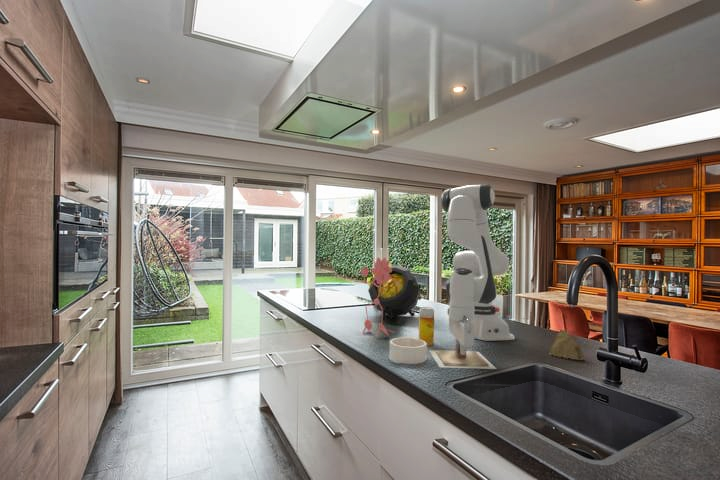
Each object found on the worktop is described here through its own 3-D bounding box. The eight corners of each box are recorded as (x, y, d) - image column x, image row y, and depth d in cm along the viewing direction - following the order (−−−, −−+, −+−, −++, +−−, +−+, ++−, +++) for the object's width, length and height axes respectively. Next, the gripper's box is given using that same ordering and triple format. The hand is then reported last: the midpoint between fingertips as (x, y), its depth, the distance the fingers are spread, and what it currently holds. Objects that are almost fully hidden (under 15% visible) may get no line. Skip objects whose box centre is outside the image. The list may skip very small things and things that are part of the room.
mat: (478, 353, 142) (478, 351, 142) (496, 370, 123) (496, 368, 123) (429, 351, 142) (429, 350, 142) (439, 368, 123) (439, 367, 123)
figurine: (388, 342, 154) (391, 258, 155) (350, 330, 174) (353, 256, 175) (413, 337, 164) (416, 259, 164) (374, 326, 184) (377, 256, 184)
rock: (592, 354, 136) (569, 343, 146) (585, 337, 134) (562, 327, 143) (572, 373, 134) (550, 360, 144) (564, 356, 132) (542, 345, 141)
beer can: (433, 346, 149) (434, 309, 149) (418, 345, 150) (419, 308, 150) (433, 343, 155) (434, 307, 155) (418, 341, 156) (419, 306, 156)
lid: (475, 353, 140) (475, 340, 140) (488, 366, 125) (488, 352, 125) (435, 352, 140) (435, 339, 140) (444, 365, 125) (444, 351, 125)
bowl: (422, 354, 139) (423, 338, 139) (428, 365, 126) (429, 347, 126) (388, 353, 139) (388, 337, 139) (391, 364, 126) (391, 346, 126)
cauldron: (435, 309, 207) (424, 286, 190) (393, 335, 207) (378, 314, 191) (413, 276, 227) (400, 253, 211) (374, 300, 228) (359, 278, 211)
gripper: (479, 320, 122) (478, 361, 122) (462, 309, 143) (461, 344, 143) (460, 319, 122) (459, 361, 122) (446, 308, 143) (445, 344, 143)
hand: (460, 352), depth 133 cm, fingers open, 3 cm apart
